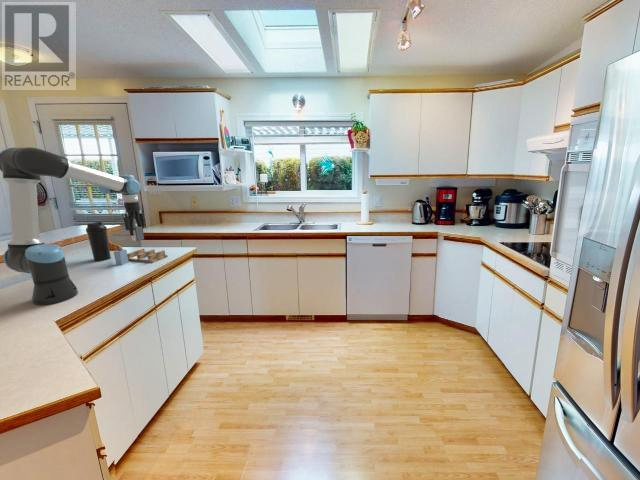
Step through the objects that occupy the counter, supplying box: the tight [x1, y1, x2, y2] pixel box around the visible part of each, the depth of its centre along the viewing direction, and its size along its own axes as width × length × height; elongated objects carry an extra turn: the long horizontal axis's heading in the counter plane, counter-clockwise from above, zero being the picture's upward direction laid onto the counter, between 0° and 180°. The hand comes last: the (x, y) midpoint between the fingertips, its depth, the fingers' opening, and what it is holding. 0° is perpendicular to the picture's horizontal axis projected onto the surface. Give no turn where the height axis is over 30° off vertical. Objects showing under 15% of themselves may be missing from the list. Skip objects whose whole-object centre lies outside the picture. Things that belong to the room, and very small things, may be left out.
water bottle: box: [85, 221, 112, 262], centre depth 182 cm, size 10×10×23 cm
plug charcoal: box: [134, 223, 145, 242], centre depth 181 cm, size 4×4×10 cm
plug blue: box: [113, 246, 130, 266], centre depth 175 cm, size 4×4×10 cm
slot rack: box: [127, 248, 169, 264], centre depth 184 cm, size 12×20×4 cm, turn 75°
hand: (138, 239), depth 182 cm, fingers closed on plug charcoal, 4 cm apart
